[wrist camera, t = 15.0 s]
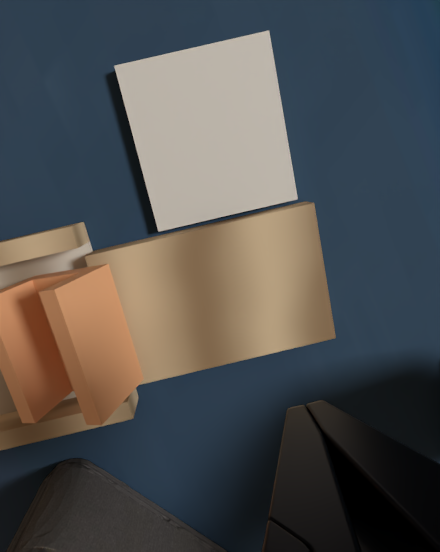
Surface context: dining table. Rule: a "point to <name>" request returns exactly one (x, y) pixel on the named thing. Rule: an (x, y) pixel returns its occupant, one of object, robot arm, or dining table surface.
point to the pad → (209, 130)
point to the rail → (187, 299)
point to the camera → (100, 517)
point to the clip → (67, 344)
